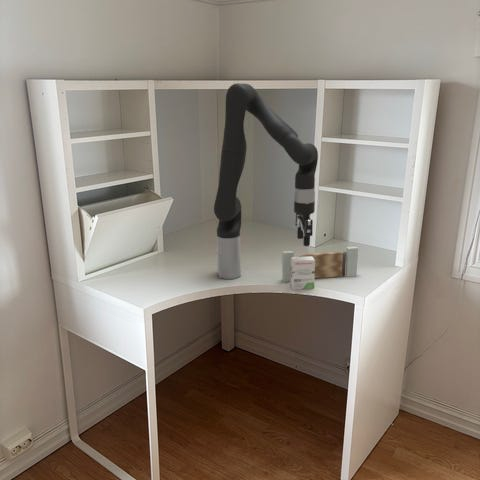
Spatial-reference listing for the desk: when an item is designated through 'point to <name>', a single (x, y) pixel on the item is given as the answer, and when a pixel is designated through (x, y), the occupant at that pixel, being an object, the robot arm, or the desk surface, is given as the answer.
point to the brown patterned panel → (329, 264)
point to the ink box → (302, 272)
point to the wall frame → (349, 271)
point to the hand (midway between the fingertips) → (303, 242)
